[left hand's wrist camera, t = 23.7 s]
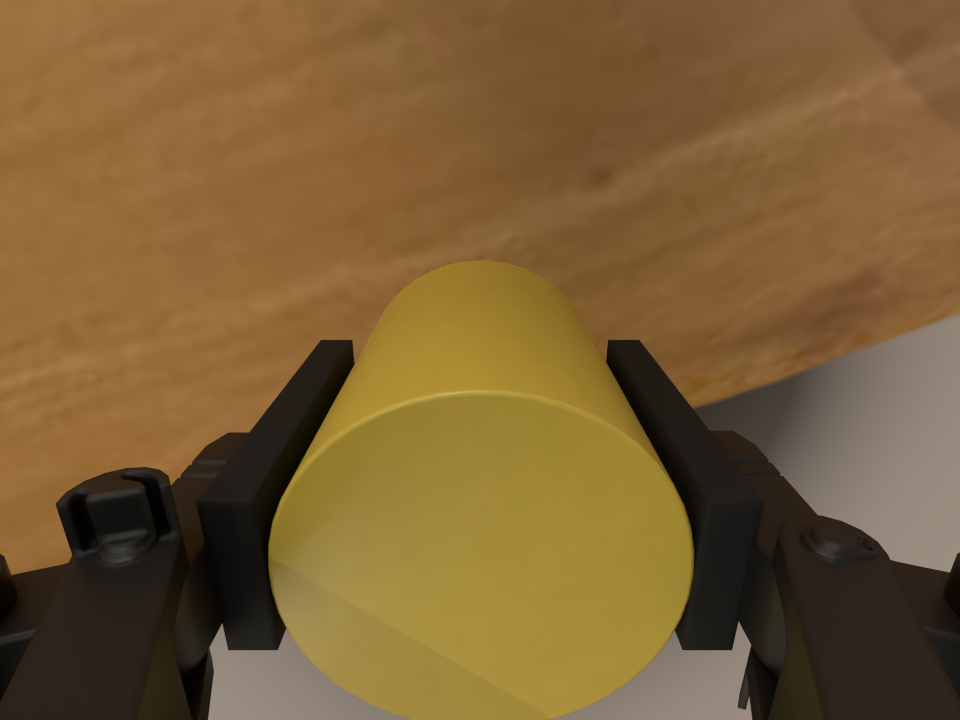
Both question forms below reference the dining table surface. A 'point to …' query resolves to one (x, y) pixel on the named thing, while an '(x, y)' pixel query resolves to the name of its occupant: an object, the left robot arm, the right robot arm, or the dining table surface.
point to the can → (481, 512)
